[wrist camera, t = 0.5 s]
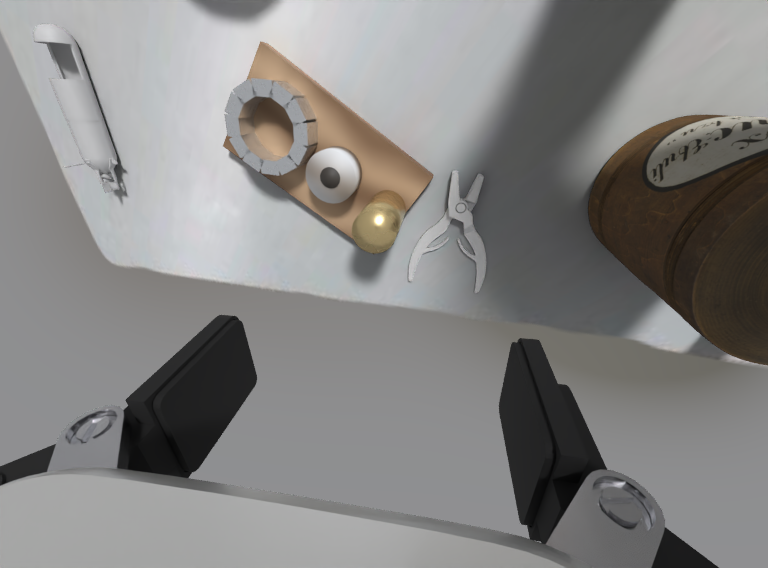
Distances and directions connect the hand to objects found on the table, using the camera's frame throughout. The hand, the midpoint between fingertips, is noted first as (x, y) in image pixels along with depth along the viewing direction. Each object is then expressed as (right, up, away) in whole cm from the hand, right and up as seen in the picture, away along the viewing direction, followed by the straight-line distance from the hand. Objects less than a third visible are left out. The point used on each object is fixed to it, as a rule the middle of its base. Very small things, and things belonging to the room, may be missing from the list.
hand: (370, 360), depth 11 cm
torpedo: (-36, +24, +30) cm, 53 cm away
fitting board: (-6, +17, +27) cm, 33 cm away
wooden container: (+30, +12, +23) cm, 40 cm away
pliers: (+9, +9, +29) cm, 32 cm away
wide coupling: (-11, +20, +25) cm, 34 cm away
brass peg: (+1, +12, +27) cm, 30 cm away
